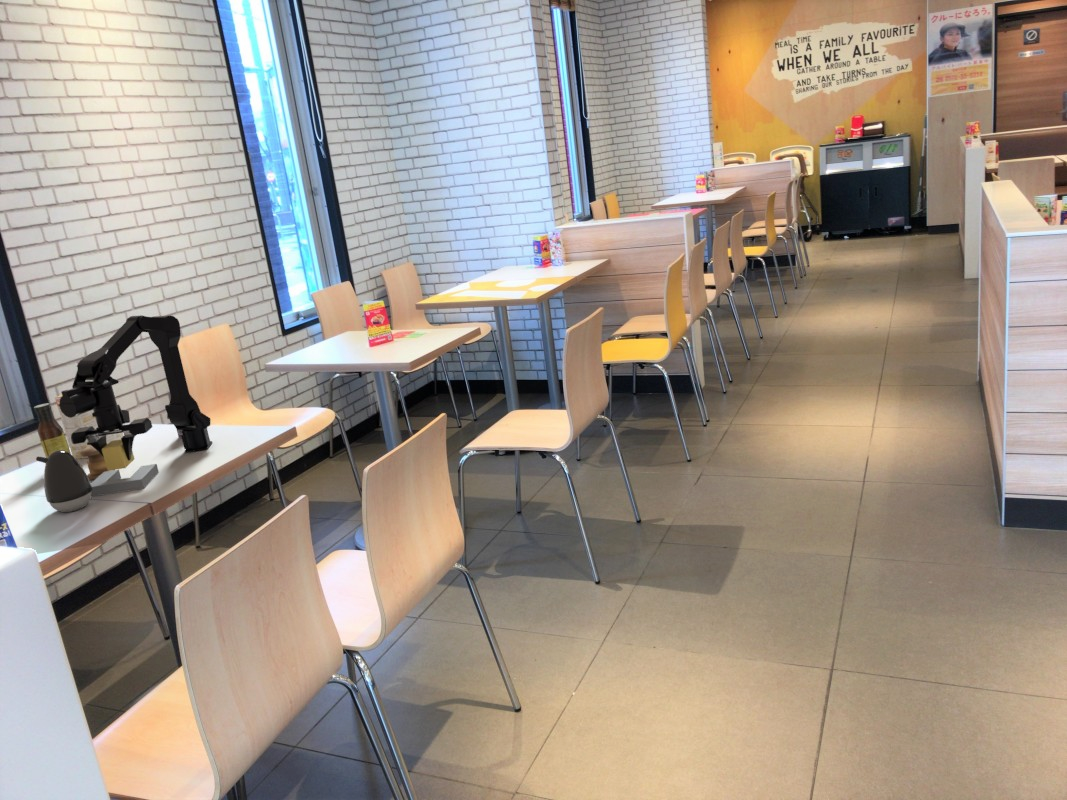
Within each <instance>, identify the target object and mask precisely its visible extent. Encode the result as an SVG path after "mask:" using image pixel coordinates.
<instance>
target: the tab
mask: <svg viewBox="0 0 1067 800" xmlns="http://www.w3.org/2000/svg"><path fill="white" fill-rule="evenodd" d="M102 453H103V456H104V460H105V463H106V467H107V470H108V471H110V470H121V469H126V468H127V467H128V466H129V465H130V464H131V463H132V462H134V460H135V455H134V452H133V451H132V455H131V460H128V459H127V457H126V454H125V450H124V447H123V443H122V440H121V439H120V440H113V441H111V442H109V443H108V444H107V445H106V446H105V447H104V448H102Z"/></svg>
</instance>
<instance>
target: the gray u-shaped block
mask: <svg viewBox="0 0 1067 800" xmlns="http://www.w3.org/2000/svg"><path fill="white" fill-rule="evenodd" d="M159 473H160V472H159V469H158V464H157V463H153V464H152V463H151V464H145V465H141V466H140V467H138V469H137V470H136V471H135V472H134V473H133V474H132V475H130V477H125V478H122V476H121V472H120V469H116V470H112V471H106V472H103V473H102V474H101V475H100V476H99V477H97V478H96V479H95V480H94V481H91V482H90V483H91V485H92V491H91V492H92V494H91V497H98V496H102V495H103V496H104V495H109V494H116V493H122V492H128V491H134V490H141V489H146V487H147V486H148V484H149V483H151V481H152V480H153V479H154V478H155V477H156V476H157V475H158V474H159Z"/></svg>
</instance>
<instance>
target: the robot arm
mask: <svg viewBox="0 0 1067 800" xmlns="http://www.w3.org/2000/svg"><path fill="white" fill-rule="evenodd" d="M180 325H181V324H180V321H179V320H178V318H177V317H176V316H173V315H155V316H145V315H141V314H140V315H132V316H129V317H127V318H126V321H125V322H124V324H122V326H120V328H118V329H117V331H115V333H114V334H113V335H112V336H111V337H110V338H109V339H108V340H107V341H106V342H105V343H104V344H103V346H101V347H100V348H99V349H97V350H95V351H92V352H91V353H89V354H87V355H86V356H84V357H83V358H82V359H80V360H79V361H78V363H77V365H76V367H77V370H76V373H75V377H74V380H73V383H72V388H71V389H65V390H62V391H61V393H60V394H61V395H62V397H61V398H60V404H59V407H60V409H61V411H62V413H63V414H64V415H65V416H67V417H69V418H72V417H75V416H77V415H80V414H83V413H85V412H88V411H91V410H93V411H94V412H93V413H92V416H93V417H95V418H96V422H97V425H98V427H97V428H96V429H94V428H93V427H92V426H90V427H83V428H79V429H77V430H76V431H74V432H73V433H72V434H71V441H72V444H78V443H84V442H85V441H86V439H87V440H88V443H87V445H91V446H93V447H94V448H95V449H96V450H97V451H98V452H99V453H100V454H101V455H102V456H103V453H102V448H104V447H105V446H106V445H107V443H106V435H109V434H116V433H122V432H123V435H124V436H123V437H122V438H121V440H122V443H123V447H124V450H125V454H126V457H127V459H128V460H131V455H132V452H133V445H134V440H135V437H136V436H137V435H141V434H147V433H148V432H149V431H150V430H151V429H152V428H153V424H152V421H151V419H149V418H148V417H144V418H137V419H133V420H132V421H131V419H130V418H131V417H130V410H126V409H122V408H121V406H120V404H118V402H117V399H116V396H115V392H114V389H113V386H114V385H117V384H119V382H120V381H119V380H118V379H116V378H113V377H112V376H111V375H112V374H113V373H114V371H115V369H116V367H117V361H118V359H120V357H121V356H122V355H123V354H124V353H125V352H126V350H128V348H129V347H130V346H131V345H132V344H133V343H134V342H135V341H136V340H137V338H138V337H140V335H142V333H148V335H149V338H150V340H151V342H152V343H153V344H154V345H155V346H156V347H157V348H158V350H159V354H160V358H161V362H162V366H163V371H164V374H165V377H166V383H167V385H168V386H167V387H168V390H169V391H170V395H171V400H170V401H169V403H168V404H165V406H164V409H165V411H166V413H167V414H166V417H167V420H169V421H170V423H171V424H173V425H174V427H175V429H176V431H177V430H182V434H183V435H182V436H181V438H180V439H181V441H182V445H183V449H184V453H190V452H197V451H204V450H208V449H209V448H210V447H211V445H212V444H213V441H212V440H211V439H210V435H209V431H208V427H210V426H211V417H209V416H207V415H206V414H205V413H203V412H201V409H200V407H199V404H198V402H197V401H196V400H195V398H194V397H192V395H191V394H190V391H189V390H190V389H189V387H188V383H187V378H186V375H185V374H186V373H185V370H184V366H183V363H182V362H183V361H182V358H181V357H182V356H181V354H180V349H179V343H180V340H181V336H182V335H181V326H180ZM128 423H129V424H128ZM117 429H119V430H117ZM104 431H107V432H104ZM103 457H104V456H103Z"/></svg>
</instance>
